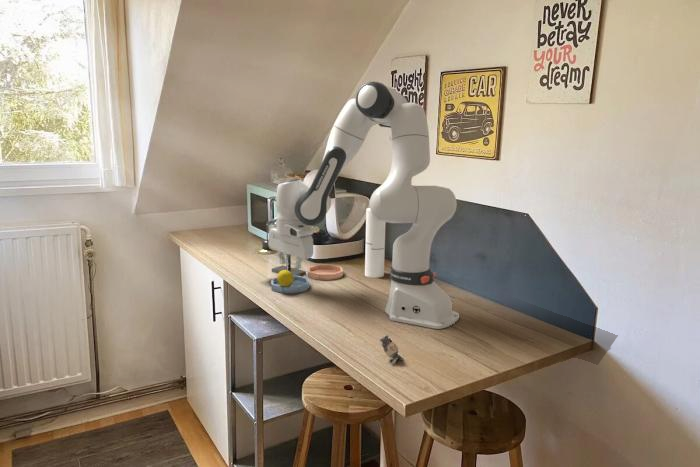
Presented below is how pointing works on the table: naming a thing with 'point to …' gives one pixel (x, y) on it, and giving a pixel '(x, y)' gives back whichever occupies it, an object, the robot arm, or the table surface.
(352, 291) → the table surface
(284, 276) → the lemon
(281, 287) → the blue dish
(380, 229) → the cylindrical container
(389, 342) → the grey brown knobbly figurine
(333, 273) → the terracotta dish
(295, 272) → the balance
